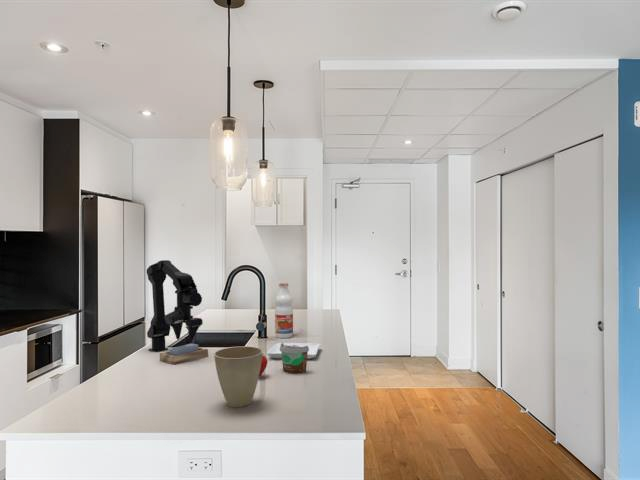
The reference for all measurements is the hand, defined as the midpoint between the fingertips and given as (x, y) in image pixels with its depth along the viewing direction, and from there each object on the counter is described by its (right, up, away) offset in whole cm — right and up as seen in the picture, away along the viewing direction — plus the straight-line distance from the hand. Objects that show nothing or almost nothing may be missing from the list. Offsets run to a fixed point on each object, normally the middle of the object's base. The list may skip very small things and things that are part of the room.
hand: (184, 340), depth 198 cm
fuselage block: (0, -7, 0) cm, 7 cm away
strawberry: (+36, -8, -28) cm, 47 cm away
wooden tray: (0, -8, 0) cm, 8 cm away
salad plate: (+47, -8, +5) cm, 48 cm away
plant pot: (+33, -8, -56) cm, 65 cm away
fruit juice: (+40, -8, +43) cm, 59 cm away
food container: (+48, -7, -22) cm, 53 cm away
